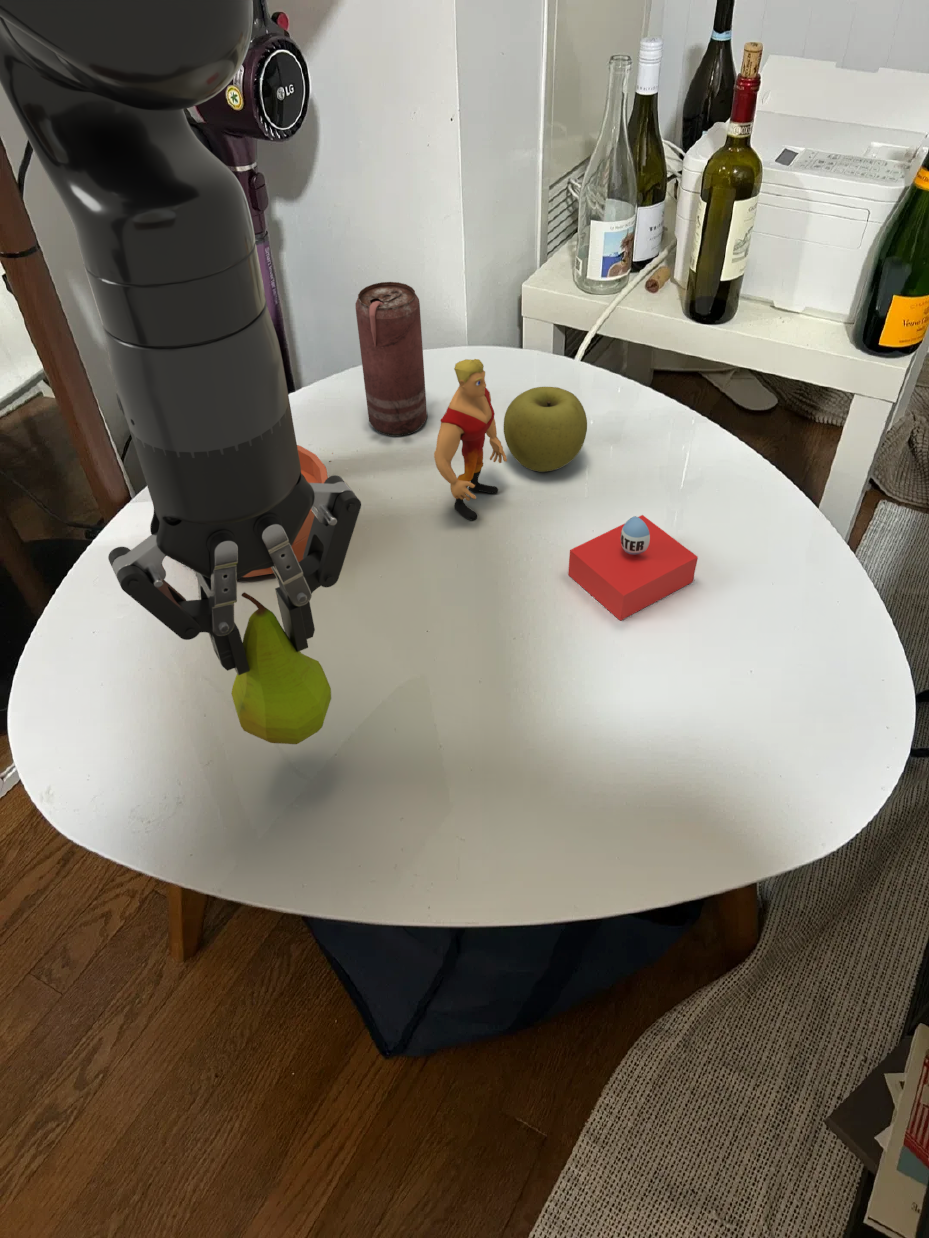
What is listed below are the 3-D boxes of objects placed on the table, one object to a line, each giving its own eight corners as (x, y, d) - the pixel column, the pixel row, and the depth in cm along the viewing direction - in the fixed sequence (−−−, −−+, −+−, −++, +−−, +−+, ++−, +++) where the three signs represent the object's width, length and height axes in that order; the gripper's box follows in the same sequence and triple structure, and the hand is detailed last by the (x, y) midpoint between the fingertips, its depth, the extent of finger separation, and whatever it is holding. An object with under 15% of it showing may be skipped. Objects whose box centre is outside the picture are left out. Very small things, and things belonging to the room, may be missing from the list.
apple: (574, 491, 87) (579, 427, 82) (493, 477, 89) (493, 413, 84) (591, 446, 92) (597, 383, 87) (514, 434, 94) (515, 372, 89)
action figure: (468, 537, 83) (463, 390, 72) (433, 526, 84) (423, 380, 74) (513, 480, 89) (515, 336, 78) (480, 470, 90) (477, 327, 79)
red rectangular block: (620, 620, 75) (627, 562, 70) (568, 574, 79) (572, 516, 75) (692, 581, 78) (704, 523, 73) (639, 539, 82) (647, 481, 78)
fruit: (356, 727, 60) (337, 592, 52) (278, 781, 57) (244, 648, 49) (298, 674, 64) (271, 540, 55) (221, 723, 60) (180, 589, 52)
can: (360, 435, 95) (344, 307, 85) (379, 402, 99) (365, 276, 89) (417, 442, 94) (407, 312, 84) (433, 408, 98) (426, 281, 88)
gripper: (74, 489, 38) (173, 743, 51) (377, 395, 43) (401, 648, 55) (36, 406, 43) (135, 657, 55) (314, 330, 48) (348, 576, 60)
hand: (268, 651), depth 55 cm, fingers closed on fruit, 3 cm apart
